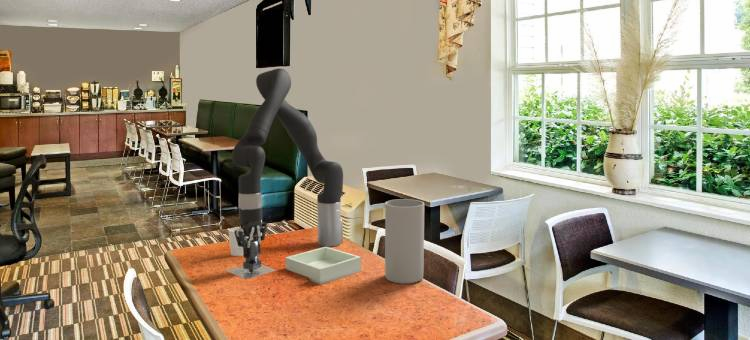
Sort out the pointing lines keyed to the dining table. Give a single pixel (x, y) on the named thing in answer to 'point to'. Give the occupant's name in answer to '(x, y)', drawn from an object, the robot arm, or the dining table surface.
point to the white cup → (235, 243)
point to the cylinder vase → (404, 240)
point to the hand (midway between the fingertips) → (252, 255)
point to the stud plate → (250, 271)
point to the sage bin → (324, 264)
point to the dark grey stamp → (252, 257)
